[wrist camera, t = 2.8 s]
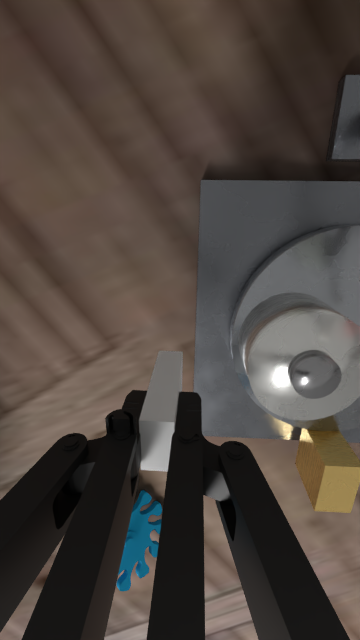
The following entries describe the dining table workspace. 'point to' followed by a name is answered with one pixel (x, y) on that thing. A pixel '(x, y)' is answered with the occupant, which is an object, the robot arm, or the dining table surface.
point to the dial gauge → (346, 122)
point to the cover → (301, 356)
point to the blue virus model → (139, 540)
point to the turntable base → (234, 272)
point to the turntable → (348, 299)
